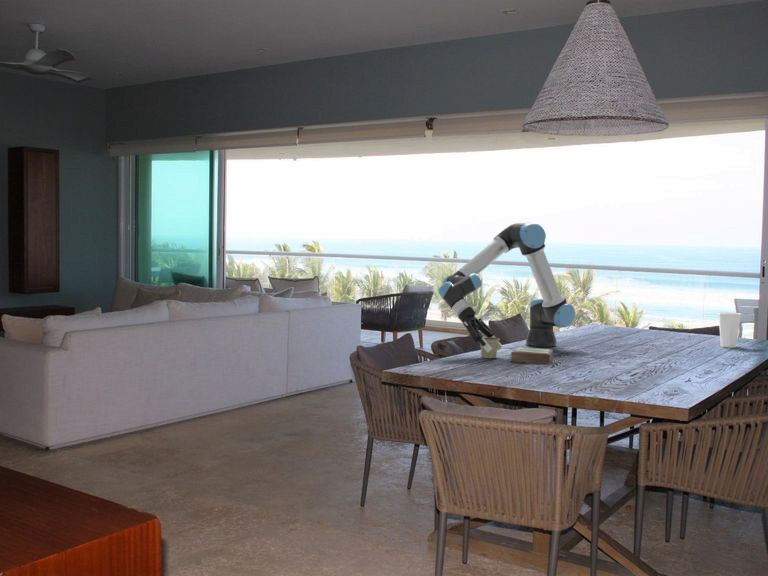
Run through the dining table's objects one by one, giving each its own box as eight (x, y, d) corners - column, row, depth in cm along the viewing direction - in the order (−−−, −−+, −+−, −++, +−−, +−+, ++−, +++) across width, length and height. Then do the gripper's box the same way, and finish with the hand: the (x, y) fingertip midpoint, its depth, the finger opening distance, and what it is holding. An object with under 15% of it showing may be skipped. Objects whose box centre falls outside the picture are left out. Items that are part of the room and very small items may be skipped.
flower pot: (474, 356, 352) (474, 337, 351) (493, 356, 354) (494, 336, 354) (483, 359, 343) (483, 339, 342) (503, 359, 346) (503, 339, 345)
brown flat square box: (516, 356, 353) (516, 347, 353) (552, 358, 348) (553, 348, 348) (511, 361, 338) (511, 351, 337) (549, 363, 333) (549, 353, 333)
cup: (712, 346, 401) (714, 312, 400) (722, 345, 408) (723, 311, 407) (735, 348, 392) (736, 314, 392) (743, 347, 399) (745, 313, 398)
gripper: (470, 315, 365) (500, 352, 357) (446, 318, 347) (478, 357, 339) (480, 304, 362) (511, 341, 354) (457, 307, 344) (489, 346, 336)
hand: (495, 349), depth 347 cm, fingers closed on flower pot, 9 cm apart
